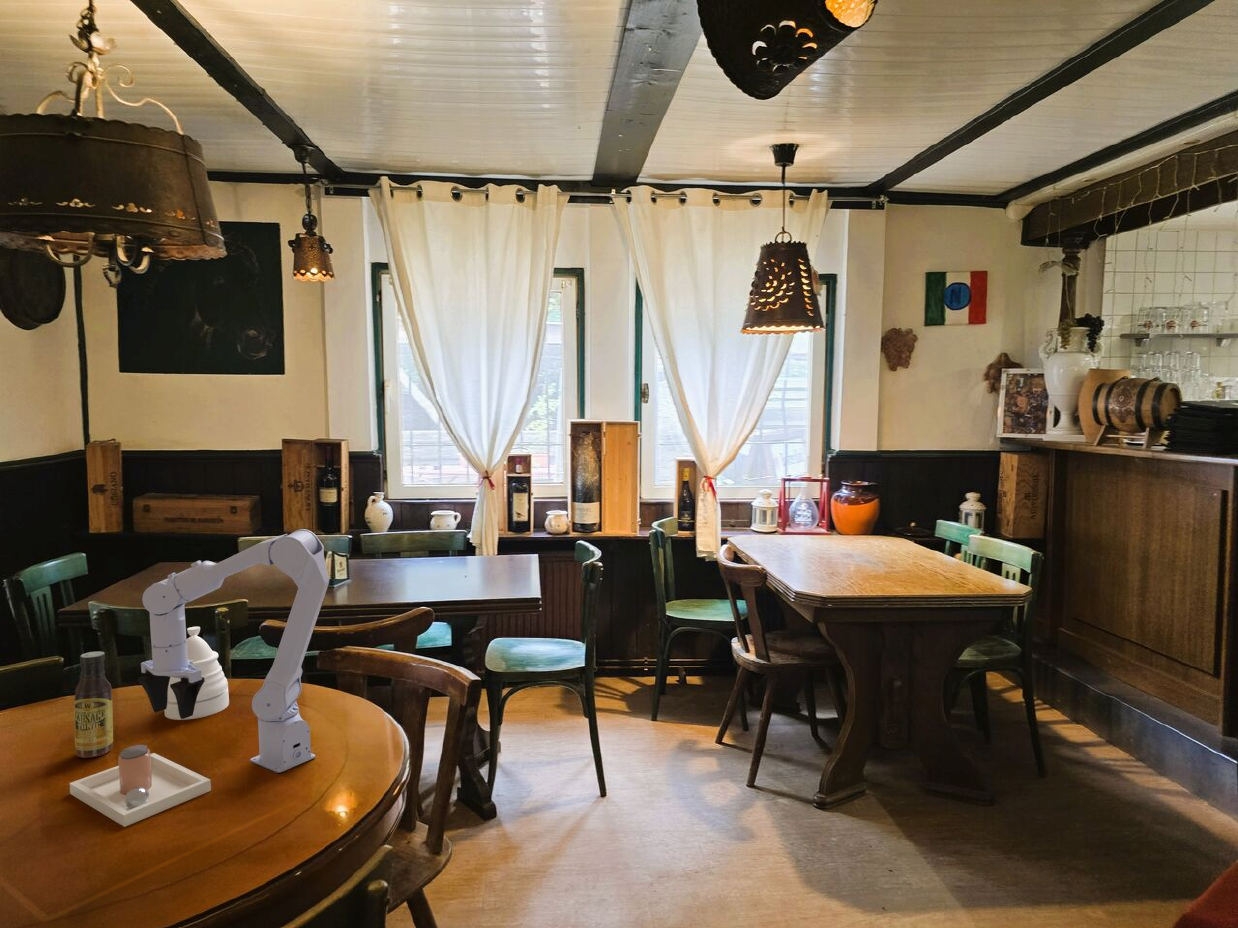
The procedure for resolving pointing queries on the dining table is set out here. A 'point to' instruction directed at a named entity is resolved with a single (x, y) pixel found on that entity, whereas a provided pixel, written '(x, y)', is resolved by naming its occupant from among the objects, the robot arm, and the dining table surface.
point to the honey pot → (214, 687)
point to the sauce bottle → (93, 708)
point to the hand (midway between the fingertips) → (173, 713)
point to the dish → (165, 792)
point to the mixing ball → (136, 797)
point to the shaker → (134, 768)
